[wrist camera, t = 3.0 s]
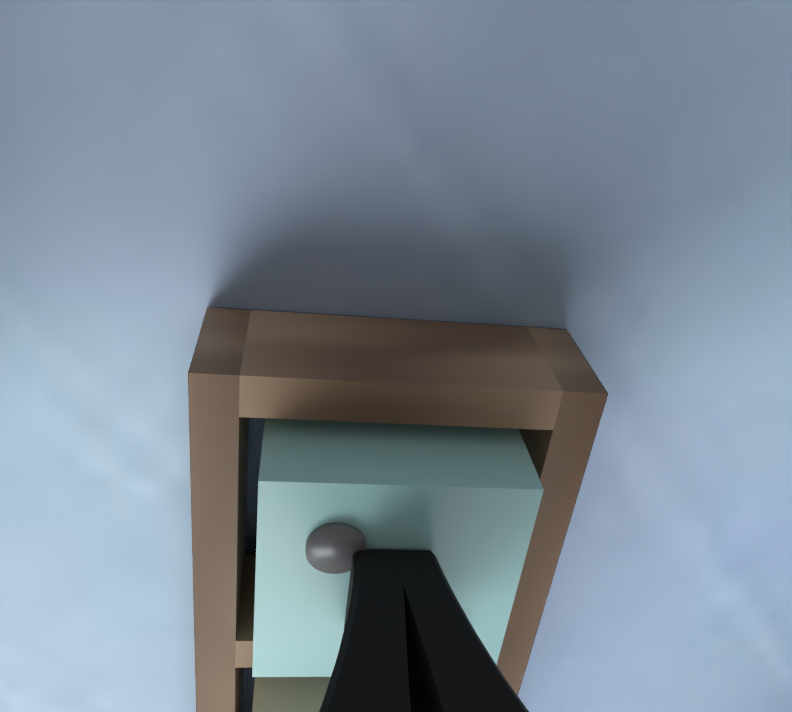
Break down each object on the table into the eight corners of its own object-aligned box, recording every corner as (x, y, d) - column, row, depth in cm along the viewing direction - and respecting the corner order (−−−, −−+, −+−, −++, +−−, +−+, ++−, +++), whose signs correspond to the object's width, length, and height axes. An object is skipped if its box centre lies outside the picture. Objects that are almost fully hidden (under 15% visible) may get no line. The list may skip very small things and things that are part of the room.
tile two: (500, 386, 15) (546, 495, 12) (464, 555, 17) (495, 681, 14) (269, 374, 14) (257, 487, 11) (262, 552, 16) (251, 684, 13)
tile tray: (566, 329, 15) (608, 393, 13) (432, 857, 24) (443, 944, 22) (207, 307, 14) (187, 372, 12) (212, 866, 23) (202, 957, 21)
